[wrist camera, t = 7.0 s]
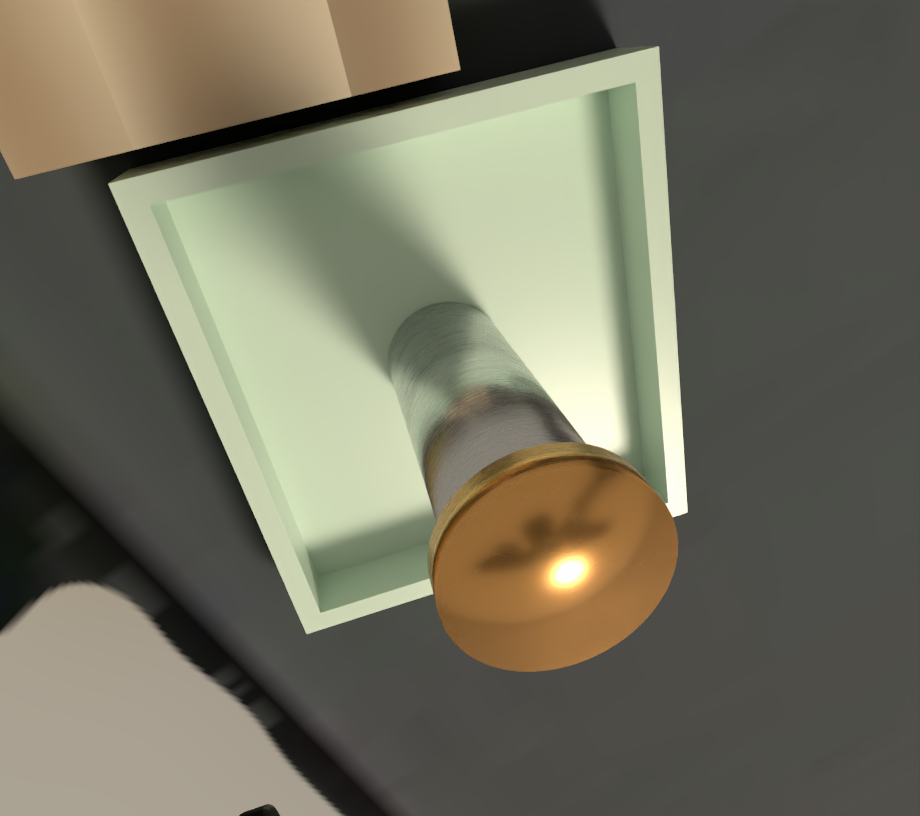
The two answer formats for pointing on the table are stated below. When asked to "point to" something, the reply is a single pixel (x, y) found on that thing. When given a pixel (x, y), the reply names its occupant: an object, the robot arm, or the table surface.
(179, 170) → the tray
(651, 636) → the table surface
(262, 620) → the table surface
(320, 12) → the block
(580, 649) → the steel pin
